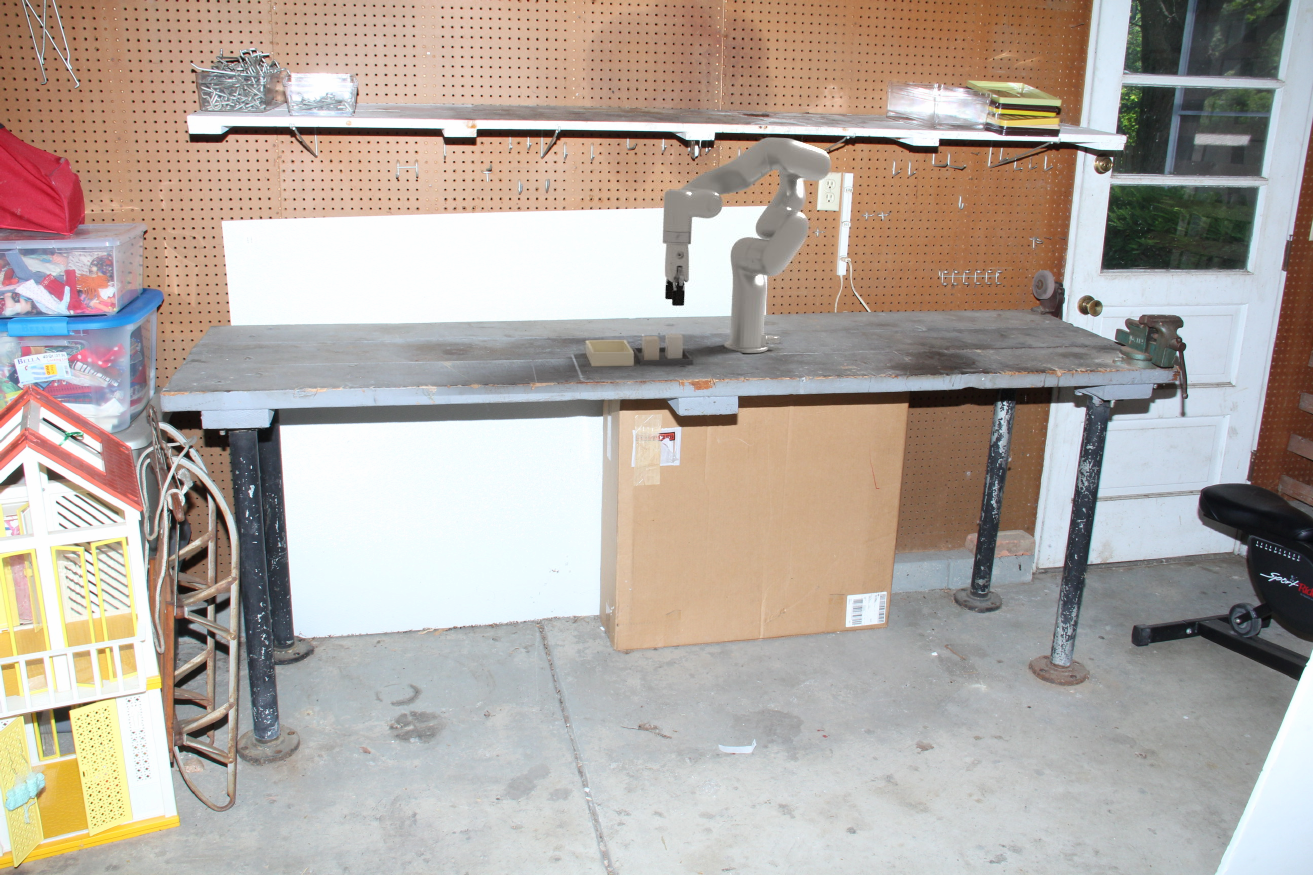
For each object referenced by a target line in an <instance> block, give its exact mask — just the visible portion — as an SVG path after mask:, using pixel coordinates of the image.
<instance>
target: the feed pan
mask: <svg viewBox="0 0 1313 875" xmlns="http://www.w3.org/2000/svg"><path fill="white" fill-rule="evenodd" d="M631 349H632V350H633V352H634V358H635V359H636V361H637V362H638V363H639V364H640V366H680V365H681V366H683V365H685V366H687V365H688V366H691V365H694V358H692V357H691V355H690V354H689V353H688V352H687V351H686V350H685V349H684V348H683V350H682V358H667V357H666V356H665V346H662V347H661V346H659V360H643V359H642V347H631Z"/></svg>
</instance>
